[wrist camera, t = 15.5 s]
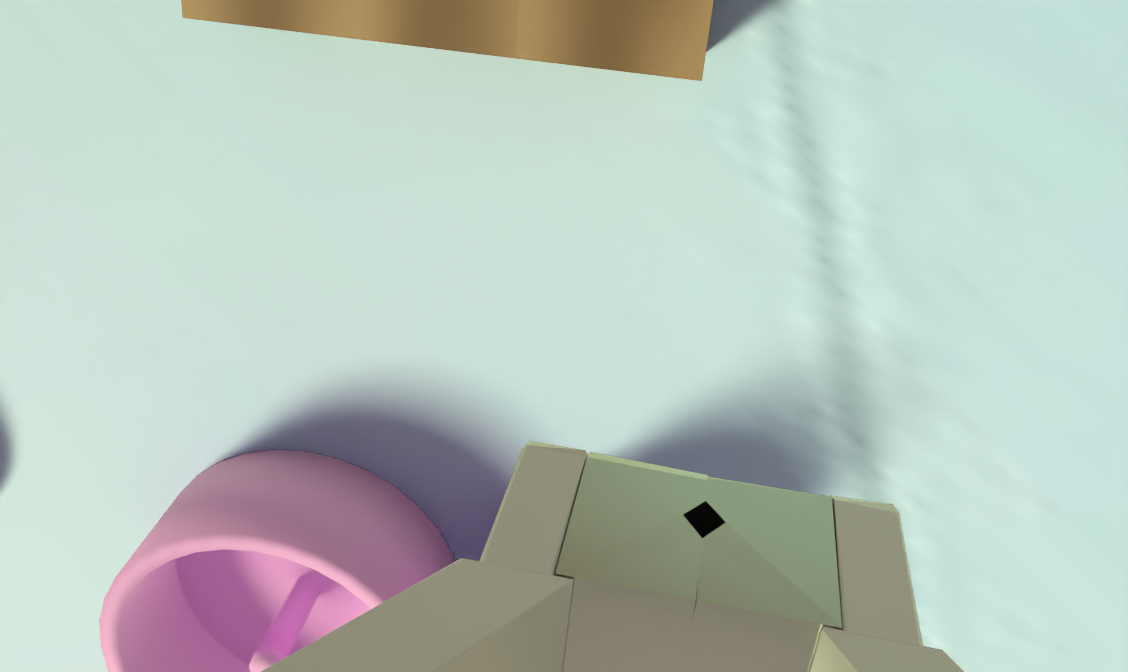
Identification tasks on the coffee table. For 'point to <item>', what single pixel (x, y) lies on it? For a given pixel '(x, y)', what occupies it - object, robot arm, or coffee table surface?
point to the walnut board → (501, 28)
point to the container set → (264, 564)
